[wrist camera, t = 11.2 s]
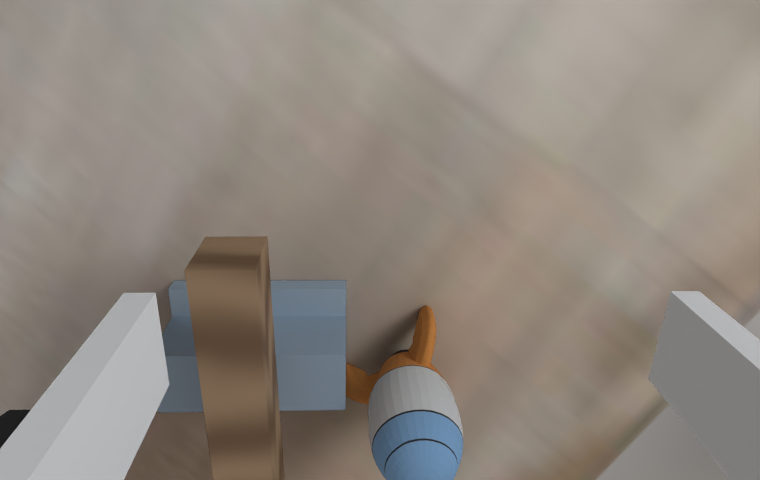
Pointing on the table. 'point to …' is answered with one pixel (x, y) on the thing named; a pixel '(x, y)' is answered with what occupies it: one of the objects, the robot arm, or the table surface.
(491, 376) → the table surface
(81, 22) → the table surface
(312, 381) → the slate ridge
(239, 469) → the walnut bar
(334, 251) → the table surface
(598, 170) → the table surface
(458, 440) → the toy rocket
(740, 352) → the robot arm
